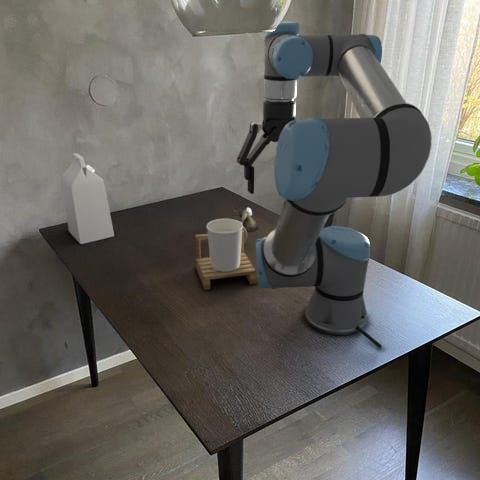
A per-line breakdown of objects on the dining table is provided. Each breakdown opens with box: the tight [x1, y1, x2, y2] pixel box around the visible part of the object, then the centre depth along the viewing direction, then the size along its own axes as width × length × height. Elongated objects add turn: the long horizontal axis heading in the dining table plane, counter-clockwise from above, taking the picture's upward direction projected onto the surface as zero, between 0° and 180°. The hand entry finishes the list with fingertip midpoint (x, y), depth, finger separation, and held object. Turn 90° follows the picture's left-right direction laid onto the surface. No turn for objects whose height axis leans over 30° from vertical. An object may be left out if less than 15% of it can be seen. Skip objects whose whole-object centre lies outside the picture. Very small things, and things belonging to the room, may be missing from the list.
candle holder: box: [206, 218, 244, 272], centre depth 141 cm, size 10×10×12 cm
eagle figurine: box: [232, 207, 257, 232], centre depth 175 cm, size 8×7×9 cm
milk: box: [61, 152, 115, 245], centre depth 164 cm, size 12×12×26 cm
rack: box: [195, 230, 257, 291], centre depth 144 cm, size 13×15×11 cm
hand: (276, 189), depth 128 cm, fingers open, 13 cm apart
